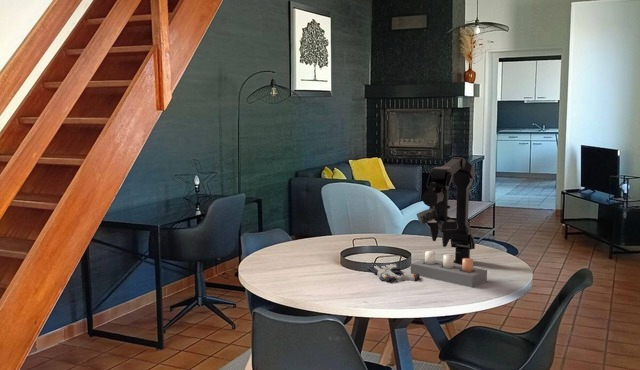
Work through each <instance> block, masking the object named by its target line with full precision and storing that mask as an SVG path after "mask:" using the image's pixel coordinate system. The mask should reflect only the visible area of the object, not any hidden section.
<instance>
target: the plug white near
mask: <svg viewBox="0 0 640 370" xmlns="http://www.w3.org/2000/svg"><path fill="white" fill-rule="evenodd" d="M424 259H425V264H427V265H434V264H435V260H436V251H432V250H428V251H427V250H426V251H425V252H424Z"/></svg>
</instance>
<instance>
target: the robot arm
mask: <svg viewBox="0 0 640 370" xmlns="http://www.w3.org/2000/svg"><path fill="white" fill-rule="evenodd" d="M475 171H476V170H475V168H474V166H473V164H471V163H469V162H468V161H466V159H465V158H463V157H455V156H454V157H451V158H450V160H449V161H447V162H445V164H443V165H442V166H436V167H433V168H432V169H431V170H430V172H429V174H428V177H427V181H426V184H425V187H426V188H427V190H426V191H425V192H423V194H422V197H421V199H422V202H423V204H424V205H426V206H427V207H429V208H427V209H425V210H422V211H420V212H417V213H416V217H417V220H418V222H419V223H421V225H422V224H423V225H425V224H426V226H427V227H428V229H429V232H430V236H431V240H432V241H433V242H436V241H437V238H438V235H439V232H440V233H441V241H442V242H441V243H442V247H443V248H446V247H447V246H448V244H449V242H450V247H451V248H455V251H454V253H455V254H454V257H455V258H454V264H458V265H462V259H463V258H471V250H475V249H476V241H475V239H474V235H473V231H472V230H473V229H472V228H471V226H470V225H469V200H470V199H469V198H470V197H469V196H470V195H469V194H470V187H471V185H472V184H473V182H474V179H475V175H476V172H475ZM452 181H453V184H454V185H455V188H456V211H455V214H456V215H455V220H454V219H450V218H451V216H449V214H448V213H449V209H451V205H449V189H450V186H451V183H452Z"/></svg>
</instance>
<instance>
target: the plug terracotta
mask: <svg viewBox="0 0 640 370" xmlns="http://www.w3.org/2000/svg"><path fill="white" fill-rule="evenodd" d="M461 265H462V272H467V273H472V272H473V267H474V259H473V258H471V257H470V258H463V259H462V264H461Z"/></svg>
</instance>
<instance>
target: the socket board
mask: <svg viewBox="0 0 640 370" xmlns="http://www.w3.org/2000/svg"><path fill="white" fill-rule="evenodd" d="M410 274H419V275H420V277H424V278H428V279H433V280H437V281H442V282H446V283H449V284H455V285H460V286H464V287H469V288H474V287H477V286H478V285H481V284H483V283H485V282H487V281H488V269H484V268H483V269H482V268H479V267H474V266H473V272H472V273H467V272H462V264H459V263H454V266H453V268H452V269H447V268H443V260H437V259H435V264H434V265H427V264H425V258H423V259H420V260H418V261H415V262H413V263H412V262H411V263H410Z"/></svg>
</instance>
